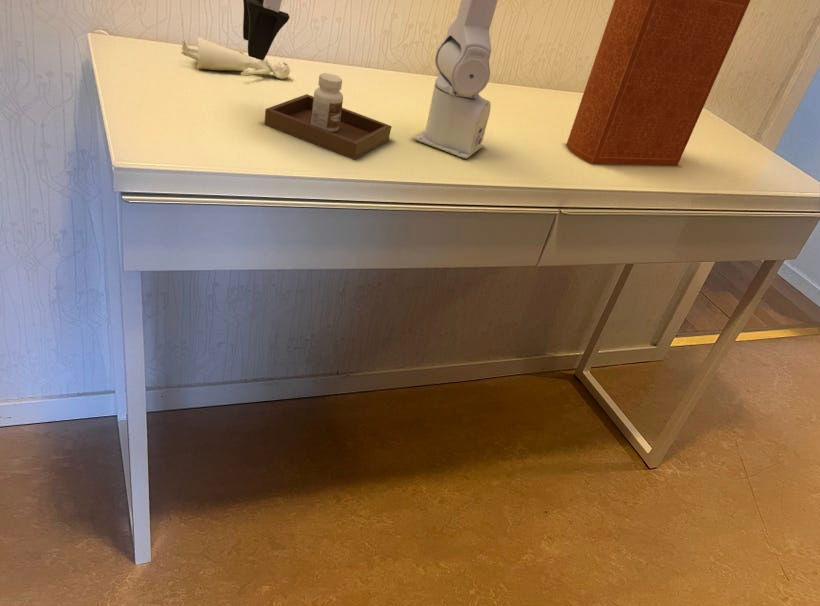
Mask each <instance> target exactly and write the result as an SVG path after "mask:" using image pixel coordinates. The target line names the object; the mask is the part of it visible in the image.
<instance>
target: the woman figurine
mask: <svg viewBox="0 0 820 606" xmlns="http://www.w3.org/2000/svg"><path fill="white" fill-rule="evenodd" d="M181 55H183V56H185V57H187V58H191V59H193V60H195V61H197V70H208V71H210V70H211V71H241V72H240V76H242V77H244V76H248V75H265V76H268V75H270V74H271V73H272V74H273V75H274V77H276V78H277V79H280V80H281V79H282V80H283V79H286V78H288V77H289V76H290V73H291V69H290V67H289V64H288V63H286V62H282V63H280V61H279V62H275V63H274V66H273V65H272V63H271V62H269V60H268V59H267V58H265V59H264V60H263V61H262V60H259V59H256V58H253V57H250V56H248V54H245V53H244V52H242V51H236V50H235V49H234V50H233V49H231V48H228V47H226V46H223V45H222V44H219V43H215V42H213V41H210V40H207V39H205V38H202V37H200V36H199V37H198V40H197V48H194V47H191V46H188V45H187V43H186V41H185V39H183V40H182V44H181ZM250 68H252V69H253V70H251V71H247V69H250ZM254 69H255V70H254Z"/></svg>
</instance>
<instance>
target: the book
mask: <svg viewBox="0 0 820 606" xmlns="http://www.w3.org/2000/svg"><path fill="white" fill-rule="evenodd" d="M750 3H751V0H614V1H613V5H612V6H611V10H610V13H609V17H608V18H607V19H608V20H607V22H606V25H605V28H604V32H603V35H602V37H601V40H600V43H599V46H598V48H597V53H596V55H595V58H594V61H593V63H592V67H591V70H590V73H589V76H588V79H587V82H586V85H585V88H584V91H583V94H582V97H581V100H580V103H579V105H578V108H577V112H576V115H575V117H574V121H573V123H572V127H571V130H570V132H569V136H568V139H567V142H566V145H565V146H566V147H567V149H568V151H569V152H571V153H572V154H573V155H575V156H576V157H577V158H579V159H581V160H582V161H584V162H586V163H588V164H591V165H614V166H615V165H618V166H619V165H620V166H621V165H622V166H667V167H668V166H670V167H672V166H673V167H678V165H679V163H680V161H681V159H682V158H683V155H684V152H685V150H686V147H687V146H688V143H689V140H690V138H691V136H692V134H693V132H694V130H695V127H696V126H697V123H698V120H699V118H700V116H701V114H702V111H703V109H704V107H705V104H706V102H707V100H708V98H709V95H710V93H711V91H712V88H713V87H714V84H715V82H716V80H717V77H718V76H719V73H720V71H721V68H722V66H723V63H724V62H725V59H726V57H727V55H728V52H729V50H730V48H731V46H732V43H733V42H734V39H735V36H736V34H737V32H738V31H739V28H740V25H741V23H742V21H743V18H744V16H745V14H746V11H747V9H748V7H749V5H750Z"/></svg>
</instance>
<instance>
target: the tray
mask: <svg viewBox="0 0 820 606" xmlns="http://www.w3.org/2000/svg"><path fill="white" fill-rule="evenodd" d="M313 100H314V95H310V94H307V93H306V94H303V95H300V96H298V97H295V98H292V99H289V100H286V101H283V102H281V103H278V104H275V105H272V106H269V107H268V108H265V110H264V111H265V114H264V125H265V126H267V127H270V128H273V129H276V130H277V131H280V132H283V133H286V134H288V135H291V136H292V137H296V138H298V139H301V140H303V141H306V142H308V143H310V144H314V145H317V146H319V147H321V148H324V149H326V150H329V151H331V152H334V153H337V154H339V155H342V156H344V157H347V158H349V159H352V160H357V159H358V158H360V157H362V156H363V155H365V154H367V153H369V152H371V151H373V150H374V149H376V148H379V147H380V146H382V145H383V144H385V143H387V142H389V141H390V138H391V137H390V136H391V131H392V125H390V124H387V123H384V122H382V121H380V120H377V119H374V118H371V117H369V116H366V115H363V114H361V113H358V112H355V111H353V110H350V109H348V108H344V107H342V111H341V118H340V125H339V129H338V130H337V131H335V132H330V131H327V130H325V129H322V128H320V127H317V126H314V125H312V124H311V117H312V109H313Z"/></svg>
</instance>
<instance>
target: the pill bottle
mask: <svg viewBox="0 0 820 606" xmlns="http://www.w3.org/2000/svg"><path fill="white" fill-rule="evenodd" d="M342 85H343V79H342V77H341V76H339V75H337V74H334V73H328V72H323V73H319V75H318V86H319V87H317V88H316V89H314V93H313V97H314V100H313V109H312V117H311V124H312V125H314V126H317V127H320V128H322V129H325V130H327V131H330V132H335V131H337V130H338V129H339V125H340V118H341V111H342V108H343V103H344V95H343V93H342V92H341V91H340V90H342Z"/></svg>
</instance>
